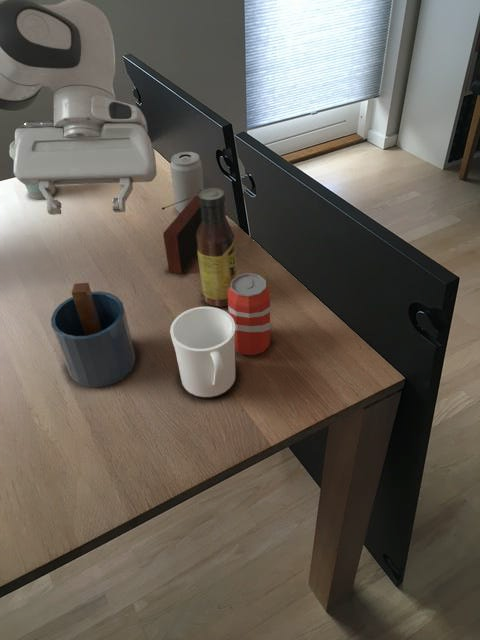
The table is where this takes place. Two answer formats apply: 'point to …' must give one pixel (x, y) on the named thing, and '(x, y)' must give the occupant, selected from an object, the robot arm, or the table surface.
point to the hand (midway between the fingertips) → (86, 212)
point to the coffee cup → (32, 190)
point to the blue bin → (95, 342)
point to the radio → (183, 236)
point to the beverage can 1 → (186, 177)
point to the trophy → (86, 308)
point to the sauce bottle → (215, 248)
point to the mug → (205, 351)
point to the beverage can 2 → (250, 313)
